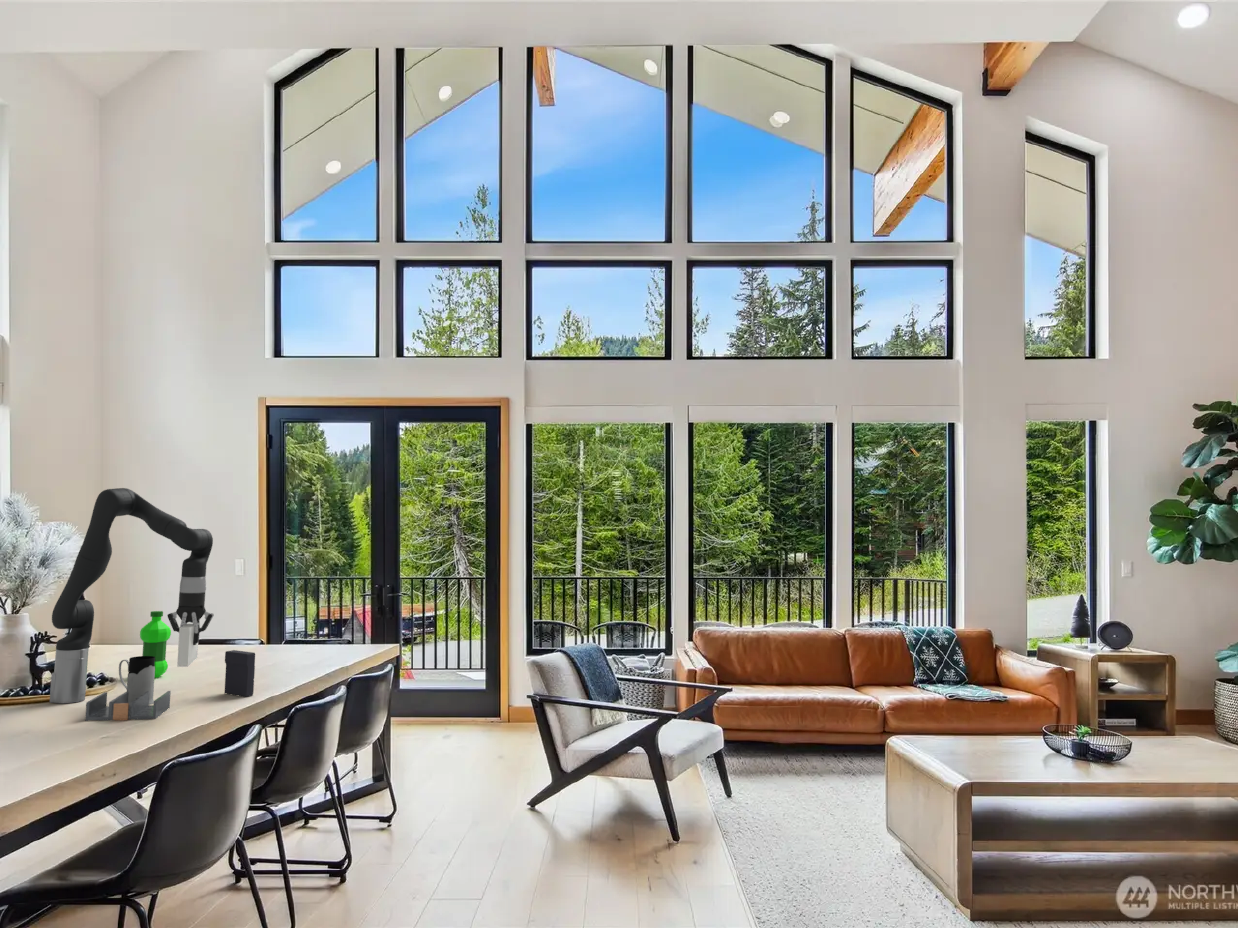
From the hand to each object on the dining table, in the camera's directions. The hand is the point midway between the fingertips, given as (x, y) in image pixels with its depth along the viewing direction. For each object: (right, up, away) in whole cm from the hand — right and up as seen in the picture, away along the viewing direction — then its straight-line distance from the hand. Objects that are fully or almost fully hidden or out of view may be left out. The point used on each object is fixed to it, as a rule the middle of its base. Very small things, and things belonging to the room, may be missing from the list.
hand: (188, 644), depth 268 cm
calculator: (+4, -24, +26) cm, 36 cm away
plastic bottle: (-42, -24, +53) cm, 72 cm away
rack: (-16, -21, -6) cm, 27 cm away
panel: (0, -6, 0) cm, 6 cm away
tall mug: (-24, -22, +10) cm, 34 cm away
